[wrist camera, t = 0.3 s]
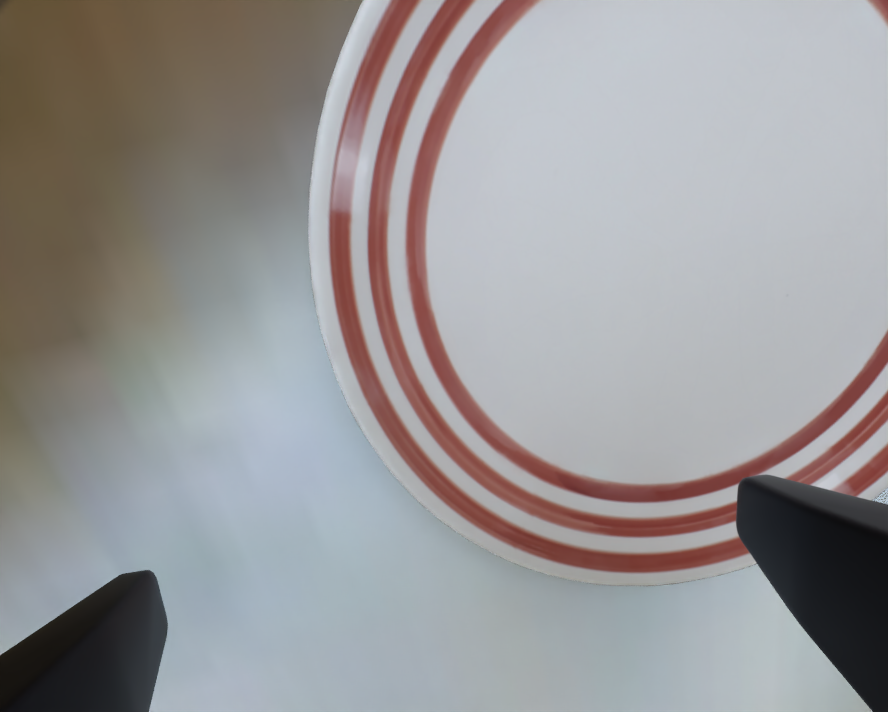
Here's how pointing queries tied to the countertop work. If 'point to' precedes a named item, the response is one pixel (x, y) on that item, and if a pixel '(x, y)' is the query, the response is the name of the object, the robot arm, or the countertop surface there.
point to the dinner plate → (608, 266)
